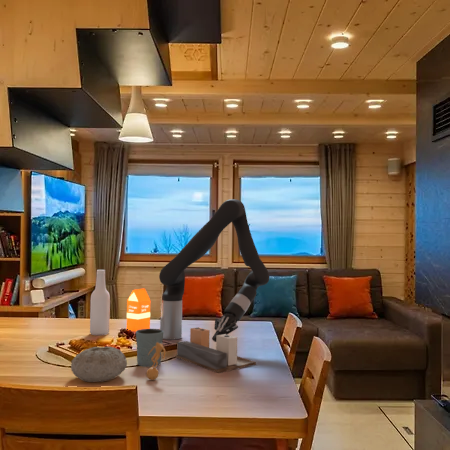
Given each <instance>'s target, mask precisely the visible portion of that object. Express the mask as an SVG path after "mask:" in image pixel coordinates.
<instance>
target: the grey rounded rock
mask: <svg viewBox="0 0 450 450" xmlns="http://www.w3.org/2000/svg"><path fill="white" fill-rule="evenodd" d="M127 361H128V360H127V358H126V356H125V354H124V353H123V352H122V350H121V349H119V348H116V346H115V347H112V346H93V347H89V348H86V349H84V350H82V351H81V352H79V353H78V354H76V355H75V357H74V358H73V359H72V360H71V365H70V369H71V372H72V374H74V376H75V377H76V378H78V379H79V380H81V381H83V382H87V383H95V382H100V383H101V382H106V381H110V380H113V379H115V378H117V377H118V376H120V375H121V374H122V373H123V372H124V371H125V370H126V368H127V367H128V362H127Z"/></svg>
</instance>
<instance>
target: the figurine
mask: <svg viewBox="0 0 450 450" xmlns="http://www.w3.org/2000/svg"><path fill="white" fill-rule="evenodd" d="M154 348H156V353H155V354H154V356H153V357H152V358H151V360H152V362H153V363H154V364H153V365H152V367H148V369H147V371H146V374H145V375H146V378H147V379H148V380H149V381H155V380H157V379H158V377H159V370H158V369H157V367H158V366H159V365H158V362H157V360H158V359H159V357H160V352H161V353H162V351H163V356H162V358H161V361H165V359H166V352H167V351H166V349H165V347H164V344H163V343H162V344H160V343H158V342H157V343H156V346H154V347H153V348H152V349H151V350H150V352H151V351H152V350H153V349H154ZM150 352H149V353H150ZM148 355H149V354H148ZM154 359H155V361H154ZM155 362H156V366H154V365H155ZM157 365H158V366H157Z"/></svg>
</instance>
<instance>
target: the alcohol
mask: <svg viewBox="0 0 450 450" xmlns="http://www.w3.org/2000/svg"><path fill="white" fill-rule="evenodd" d="M89 309H90V311H89V312H90V316H89V317H90V319H89V334H90V335H92V336H106V335H108V334H109V332H110V317H111V315H110V313H111V312H110V311H111V310H110V309H111V296H110V292H109V291H108V290H107V287H106V269H97V270H96V279H95V288H94V290H93V291H92V293H91V295H90V308H89Z"/></svg>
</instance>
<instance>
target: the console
mask: <svg viewBox="0 0 450 450" xmlns="http://www.w3.org/2000/svg"><path fill="white" fill-rule="evenodd" d="M176 345H177V347H176V348H177V354H175V358H176V359H179V360H181V361H184V362H186V363H191V364H192V365H196V366H197V367H201V368H203V369H206V370H209V371H212V372H215V373H218V374H221V373H224V372H229V371H235V370H238V369H242V368H247V367H251V366H257V361H254V360H250V359H248V358H245V357H241V356H238V355H237V364H234V365H229V366H228V365H227V353H225V352H221V351H218V350H216V348H212V347H209V348H208V347H205V346H202V345H199V344H195V343H192V342H190V340H184V341H179V342H178V341H177V344H176Z"/></svg>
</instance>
